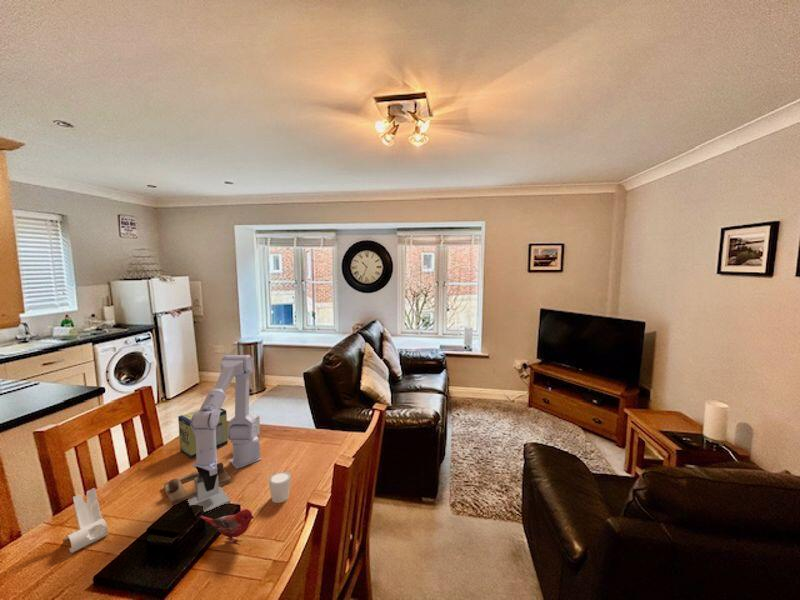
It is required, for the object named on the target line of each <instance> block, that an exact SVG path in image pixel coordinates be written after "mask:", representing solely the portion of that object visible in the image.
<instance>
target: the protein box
mask: <svg viewBox="0 0 800 600" xmlns="http://www.w3.org/2000/svg"><path fill="white" fill-rule="evenodd" d="M199 410H200V409H198V410H195V411H194V410H193V411H191V412H188V413H185V414H181V415H178V416H177V420H178V436H179V451H180V452H181V453H182V454H183V455H185V456H186V457H188V459H192V460H193V459H194V458H195V459H196V437H195V435H194V434H193V429H192V428H191V426H190V423H191V419H192V416H193V414H194V413H195V412H198V411H199ZM227 413H228V411H227V410H226V409H223V408H222V407H221V409H220V416H219V422H218V424H217V426H216V449H218V447H219V448H220V446H221V447H223V446H226V445H228V444H229V439H228V437H227V430H228V419H227V418H228V417H227ZM227 443H228V444H227ZM225 444H226V445H225Z"/></svg>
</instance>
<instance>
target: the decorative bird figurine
mask: <svg viewBox="0 0 800 600" xmlns="http://www.w3.org/2000/svg"><path fill="white" fill-rule="evenodd" d="M198 518H200V519H202V520H204V521H206V522H207V523H208V524H210V525H211V526H212V527H213V528H214V530H216V531H217V532H219V533H220V534H222V535H223V536H225V537H227V538H225V540H227V541H229V542H232V543H237V542H243V541H242V540H239V539H237V538H238V537H240V536H241V535H243V534H244V533H245V532H246V531H247V530H248V529H249V526H250V524H251V523H252V520H253V519H255V517H254V515H253V514H252V512H251V510H250V509H247V508H244V509H242V510H240V511H238V512H237V513H236V514H231V515H223V516H221V517H217V518H215V519H214V518H211V517H207V516H204V515H201V516H199V517H198Z"/></svg>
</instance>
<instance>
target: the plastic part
mask: <svg viewBox="0 0 800 600" xmlns="http://www.w3.org/2000/svg"><path fill="white" fill-rule="evenodd" d="M82 495H83V494H80V493H79V494H77V495H74V496H73V497H72V500H73V501H72V502H73V506H74V510H75V515H76V516H75V517H76V520H77V524H78V530H77V531H75V530H73V529H72V530H71V534H69V535H66V537H63V540H69V542H70V545H71V547H69V549H68V550H69V552H70V554H73V553H75V552H77V551H79V550H82V549H83V548H85V547H87V546H89V545H91V544H93V543H95V542H97V541H98V540H101V539H103V538H104V537H106V536H108V535H109V530H108V524H107V521H106V520H105V519H104V518H103V516H102V512H101V508H100V504H99V500H98V495H97V491H96V487H93V488H91V489H88V490H87V491H86V502H85V500H84V498H83V496H82Z"/></svg>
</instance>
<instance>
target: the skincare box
mask: <svg viewBox="0 0 800 600" xmlns="http://www.w3.org/2000/svg"><path fill="white" fill-rule="evenodd" d="M249 415H250V416H252V417H253V418H255V419H256V425H257V434H256V436H257V437H258V439H259V442H260V440H261V434H260V431H261V429H260V428H261V427H260V415H258V414H249Z"/></svg>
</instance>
